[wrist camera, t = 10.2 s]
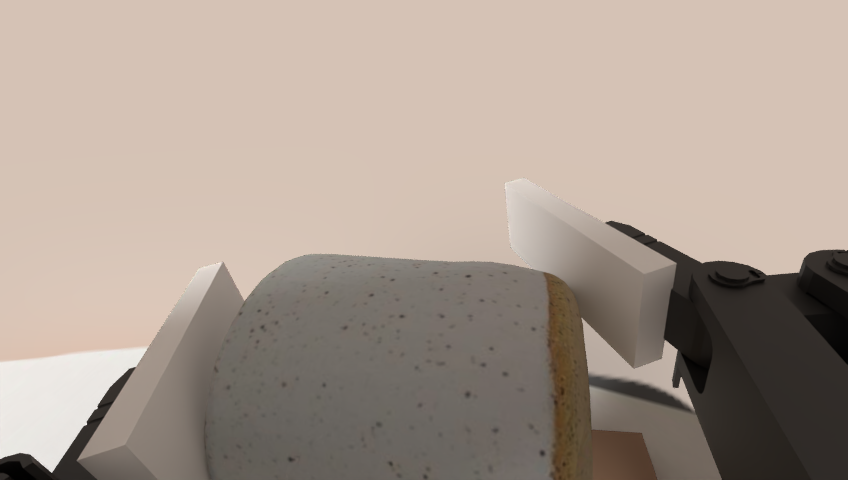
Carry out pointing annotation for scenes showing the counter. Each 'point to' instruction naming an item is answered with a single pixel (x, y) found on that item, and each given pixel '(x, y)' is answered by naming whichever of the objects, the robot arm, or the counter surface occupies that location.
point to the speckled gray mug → (401, 375)
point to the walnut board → (620, 456)
